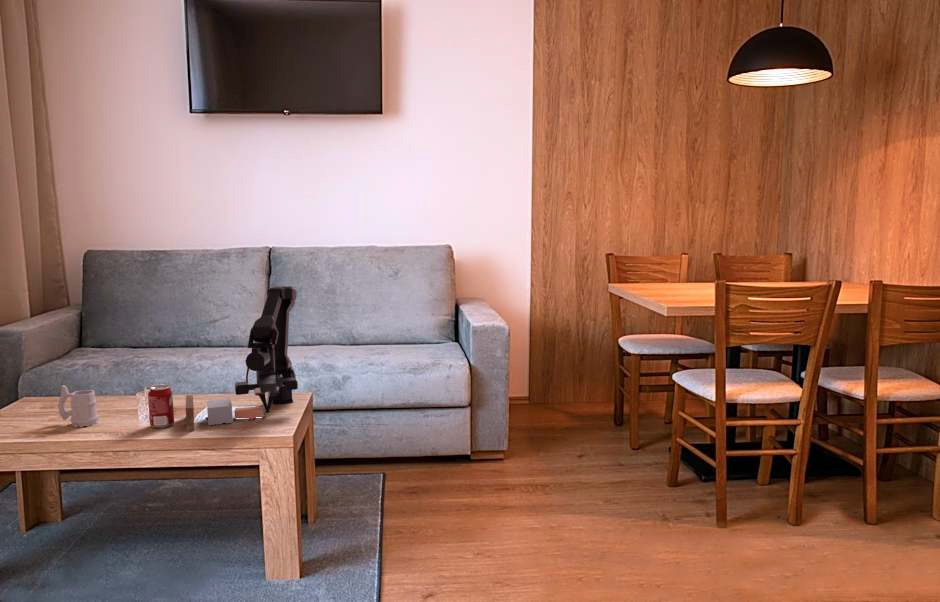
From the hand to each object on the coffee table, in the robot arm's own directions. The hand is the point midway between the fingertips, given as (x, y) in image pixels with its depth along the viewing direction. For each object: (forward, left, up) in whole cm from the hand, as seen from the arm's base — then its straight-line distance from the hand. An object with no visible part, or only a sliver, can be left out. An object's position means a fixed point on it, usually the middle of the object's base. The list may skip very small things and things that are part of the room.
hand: (267, 412), depth 228 cm
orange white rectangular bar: (+6, 0, -1) cm, 6 cm away
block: (+14, 0, -1) cm, 14 cm away
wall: (+23, 0, -1) cm, 23 cm away
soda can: (+31, -1, -1) cm, 31 cm away
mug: (+55, -13, -1) cm, 56 cm away
